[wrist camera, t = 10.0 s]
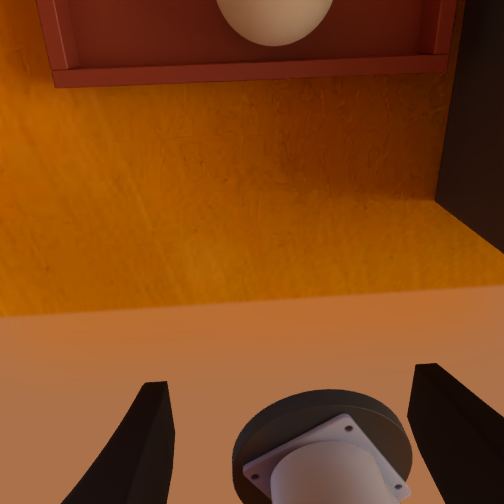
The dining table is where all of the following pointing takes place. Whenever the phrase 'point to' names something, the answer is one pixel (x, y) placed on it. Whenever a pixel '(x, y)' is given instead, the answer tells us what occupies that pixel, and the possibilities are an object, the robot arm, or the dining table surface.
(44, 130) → the dining table surface
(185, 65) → the tray
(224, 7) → the ball
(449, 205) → the box
